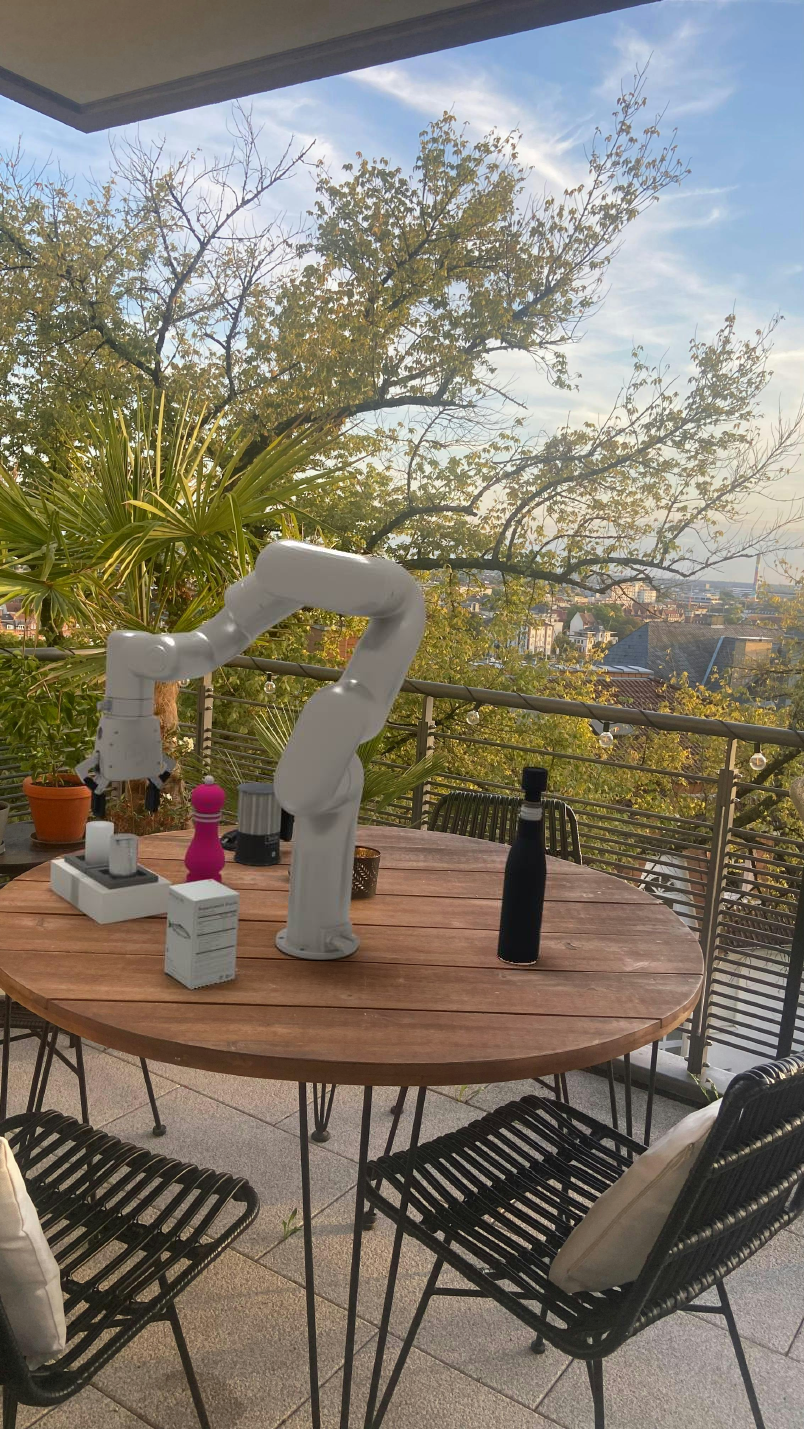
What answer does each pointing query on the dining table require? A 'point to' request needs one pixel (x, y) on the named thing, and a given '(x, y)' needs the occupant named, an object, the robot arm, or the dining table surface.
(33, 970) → the dining table surface
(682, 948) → the dining table surface
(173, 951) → the supplement box
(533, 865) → the dark water bottle
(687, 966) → the dining table surface
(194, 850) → the pepper mill
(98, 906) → the socket block
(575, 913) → the dining table surface
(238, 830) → the milk frother
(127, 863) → the peg
